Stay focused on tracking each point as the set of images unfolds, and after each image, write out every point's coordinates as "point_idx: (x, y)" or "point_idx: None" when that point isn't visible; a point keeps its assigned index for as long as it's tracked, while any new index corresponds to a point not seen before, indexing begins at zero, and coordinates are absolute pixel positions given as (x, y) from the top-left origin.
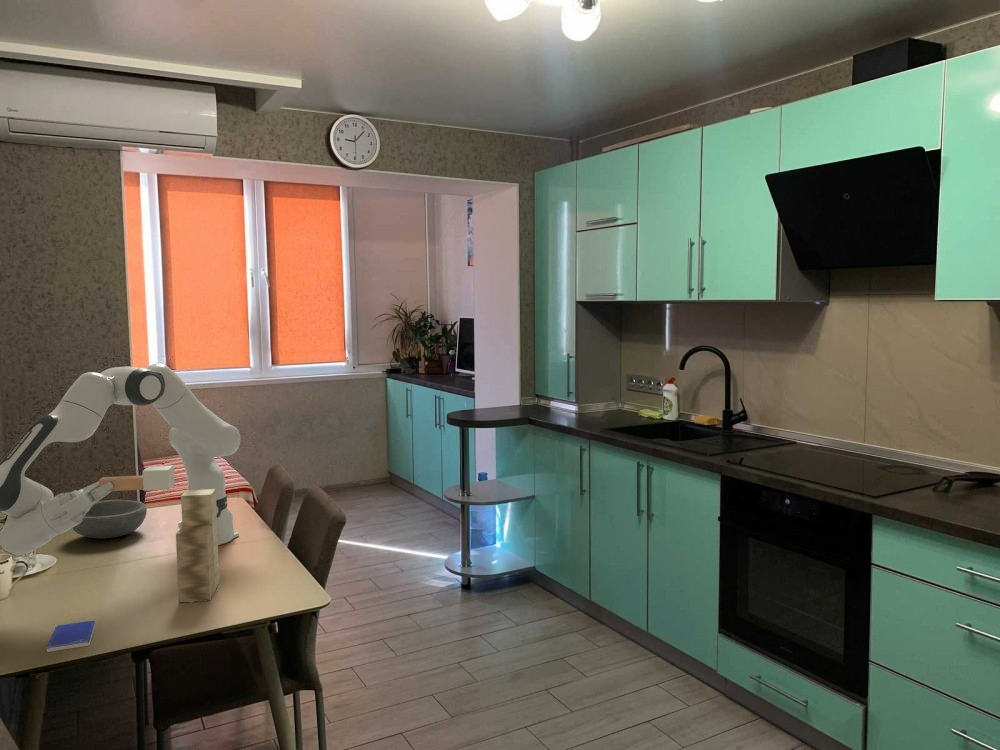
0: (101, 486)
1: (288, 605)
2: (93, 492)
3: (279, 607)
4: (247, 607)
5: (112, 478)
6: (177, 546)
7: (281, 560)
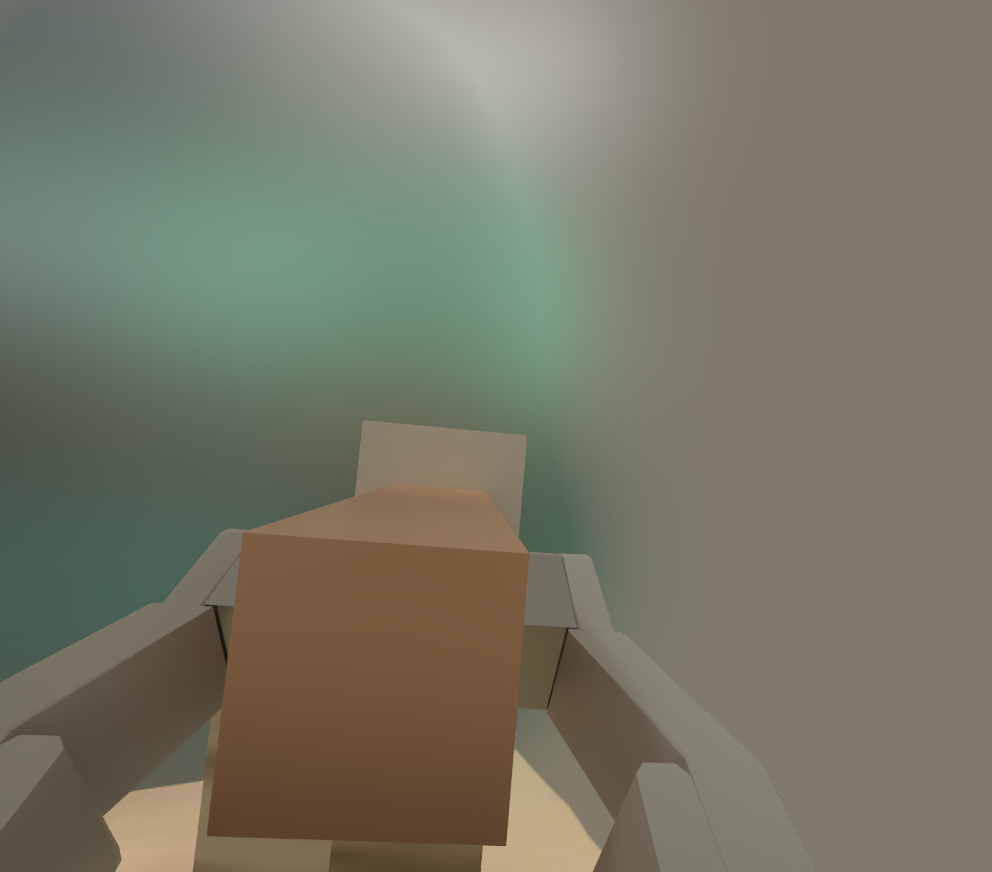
0: (637, 653)
1: (523, 783)
2: (778, 860)
3: (534, 798)
4: (530, 865)
5: (461, 516)
6: (480, 853)
7: (138, 808)
